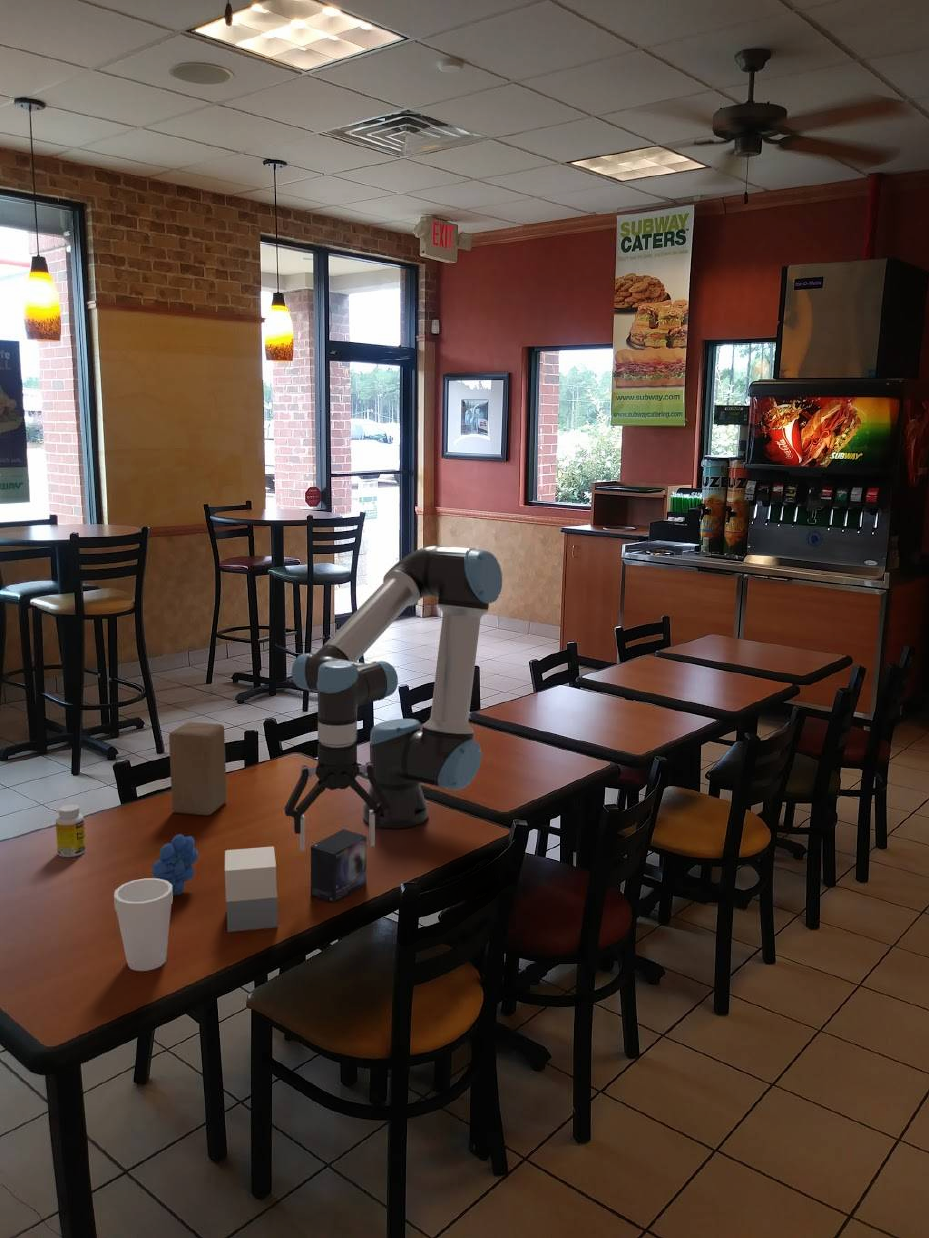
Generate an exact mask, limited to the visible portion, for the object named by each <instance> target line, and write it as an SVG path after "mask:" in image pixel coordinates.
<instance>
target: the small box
mask: <svg viewBox="0 0 929 1238" xmlns="http://www.w3.org/2000/svg"><path fill="white" fill-rule="evenodd" d="M367 838H368V837H367V835H364V834H360V833H358V832H354V831H351V830H348V829H343V828H342V829H341V830H339V831H338V832H335V833H334V834H331V835H330V836H328V837H325V838H324V839H321V840H320V841H317V842H315V843H314V844H312V845H310V893H309V894H310V896H312V897H316V898H318V899H321V900H324V901H326V902H330V903H332V904H335V903H337V902H338V901H340V900H342V899H343V898H345V897H346V896H348V895H350V894H351V893H354V892H355V891H357V890H358V889H361V888H362V887H363V886H365V885H366V884H367V864H368V863H367V862H368V861H367V859H368V858H367V857H368V856H367V849H368V844H367V842H368V841H367V840H368V839H367Z"/></svg>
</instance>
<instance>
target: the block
mask: <svg viewBox="0 0 929 1238" xmlns="http://www.w3.org/2000/svg"><path fill="white" fill-rule="evenodd" d="M225 737H226V736H225V726H224V724H220V723H211V722H210V723H209V722H208V723H207V722H195V721H188V722H186V723H184V724H182V725H180V726H179V727H178V728H176V729H174V730H172V731H170V733H169V735H168V741H169V743H168V744H169V745H168V746H169V764H170V765H169V766H170V767H169V768H170V787H171V788H170V789H171V806H172V807H171V809H172V812H174V813H177V814H186V815H197V816H211V815H213V813H215V812H216V811H217V810H218V809H219V808H221V807H222V806H223V805H224V804H226V801H227V799H228V797H227V773H226V770H227V769H226V745H225V744H226V743H225Z"/></svg>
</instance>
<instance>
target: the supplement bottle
mask: <svg viewBox="0 0 929 1238" xmlns="http://www.w3.org/2000/svg"><path fill="white" fill-rule="evenodd" d="M55 830H56V845H57V846H56V847H57V854H58V856H60V857H62V858H74V857H78V856H81V855H82V854H84V852H85V851H86V837H85V835H86V833H85V819H84V815H83V814H82V813H80V806H79V805H77V804H65V805H63V806H61V807H59V809H58V816H57V817H56V818H55Z"/></svg>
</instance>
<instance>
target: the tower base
mask: <svg viewBox="0 0 929 1238" xmlns="http://www.w3.org/2000/svg"><path fill="white" fill-rule="evenodd" d="M276 890H277V888H276ZM278 907H279V906H278V896H277V897H275V898H264V899H253V900H242V901H231V902H226V920H227V921H226V923H227V933H231V932H232V933H233V932H240V931H241V932H243V931H250V930H251V931H252V930H261V929H271V928H273V929H274V928H279V918H278V917H279V915H278V913H279V910H278Z"/></svg>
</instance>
